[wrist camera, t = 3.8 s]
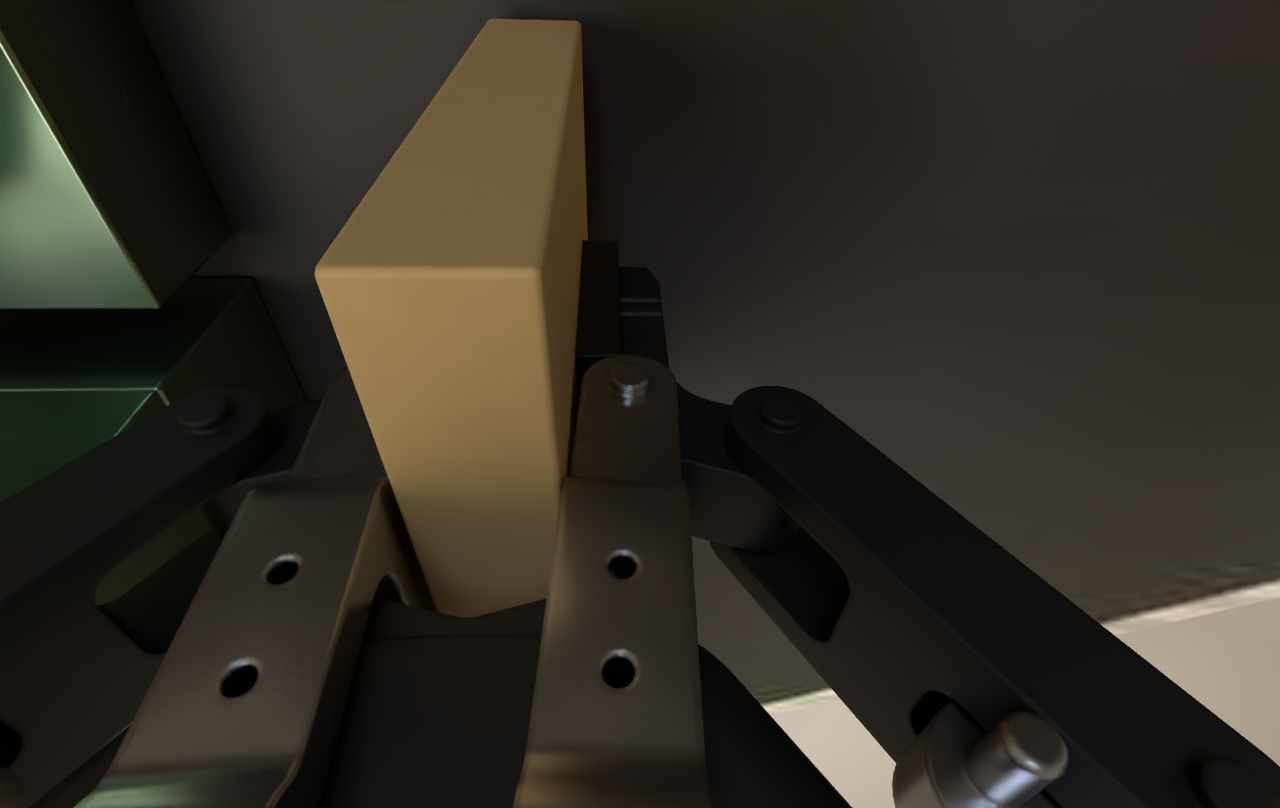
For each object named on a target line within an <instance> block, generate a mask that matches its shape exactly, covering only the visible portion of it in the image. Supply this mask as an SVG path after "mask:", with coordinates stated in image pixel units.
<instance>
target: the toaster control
mask: <svg viewBox="0 0 1280 808" xmlns="http://www.w3.org/2000/svg"><path fill="white" fill-rule="evenodd" d="M230 237H231V231H230V229H229V227H228V225H227V222H226V220H225V218H224V216H223V213H222V211H221V209H220V207H219V204H218V202H217V200H216V198H215V195H214V193H213V191H212V189H211V186H210V184H209V182H208V180H207V177H206V175H205V173H204V171H203V169H202V166H201V164H200V162H199V160H198V157H197V155H196V153H195V151H194V148H193V146H192V144H191V142H190V139H189V137H188V135H187V133H186V130H185V128H184V126H183V124H182V121H181V119H180V117H179V115H178V112H177V110H176V108H175V106H174V103H173V101H172V99H171V97H170V94H169V92H168V90H167V88H166V85H165V83H164V81H163V79H162V77H161V74H160V72H159V70H158V68H157V65H156V63H155V61H154V59H153V56H152V54H151V52H150V50H149V47H148V45H147V43H146V41H145V38H144V36H143V34H142V32H141V29H140V27H139V25H138V23H137V20H136V18H135V16H134V14H133V11H132V9H131V7H130V5H129V2H128V0H0V310H127V309H158V308H161V307H162V306H163V305H164V304H165V303H166V302H167V301H168V300H169V299H170V298H171V297H172V296H173V295H174V294H175V293H176V292H177V291H178V290H179V289H180V288H181V287H182V286H183V285H184V283H185V282H186V281H187V280H188V279H189V278H190V277H191V276H192V275H193V274H194V273H195V272H196V271H197V270H198V269H199V268H200V267H201V266H202V265H203V264H204V263H205V262H206V261H207V260H208V259H209V258H210V257H211V256H212V255H213V254H214V253H215V252H216V251H217V250H218V249H219V248H220V247H221V246H222V245H223V244H224V243H225V242H226V241H227V240H228V239H229V238H230Z"/></svg>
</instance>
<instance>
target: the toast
mask: <svg viewBox="0 0 1280 808" xmlns="http://www.w3.org/2000/svg"><path fill="white" fill-rule="evenodd" d="M583 240H588V233H587V200H586V167H585V134H584V101H583V68H582V35H581V24H580V22H578V21H561V20H521V19H490V20H488V21H487V23H486V24H485V25H484V27H483V28H482V30H481V31H480V33H479V34H478V35H477V37H476V38H475V40H474V41H473V43H472V44H471V45H470V47H469V48H468V50H467V51H466V53H465V54H464V55H463V57H462V58H461V60H460V61H459V63H458V64H457V65H456V67H455V68H454V70H453V71H452V73H451V74H450V75H449V77H448V78H447V80H446V81H445V83H444V84H443V85H442V87H441V88H440V90H439V91H438V93H437V94H436V95H435V97H434V98H433V100H432V101H431V103H430V104H429V105H428V107H427V108H426V110H425V111H424V113H423V114H422V115H421V117H420V118H419V120H418V121H417V123H416V124H415V125H414V127H413V128H412V130H411V131H410V133H409V134H408V135H407V137H406V138H405V140H404V141H403V143H402V144H401V145H400V147H399V148H398V150H397V151H396V153H395V154H394V155H393V157H392V158H391V160H390V161H389V163H388V164H387V165H386V167H385V168H384V170H383V171H382V173H381V174H380V175H379V177H378V178H377V180H376V181H375V183H374V184H373V185H372V187H371V188H370V190H369V191H368V193H367V194H366V195H365V197H364V198H363V200H362V201H361V203H360V204H359V205H358V207H357V208H356V210H355V211H354V213H353V214H352V215H351V217H350V218H349V220H348V221H347V223H346V224H345V225H344V227H343V228H342V230H341V231H340V233H339V234H338V235H337V237H336V238H335V240H334V241H333V243H332V244H331V245H330V247H329V248H328V250H327V251H326V253H325V254H324V255H323V257H322V258H321V260H320V261H319V263H318V264H317V265H316V268H315V278H316V281H317V284H318V286H319V289H320V292H321V295H322V297H323V300H324V303H325V306H326V308H327V311H328V314H329V317H330V319H331V322H332V325H333V328H334V330H335V333H336V336H337V338H338V341H339V344H340V347H341V349H342V352H343V355H344V358H345V360H346V363H347V366H348V369H349V371H350V374H351V377H352V380H353V382H354V385H355V388H356V391H357V393H358V396H359V399H360V401H361V404H362V407H363V410H364V412H365V415H366V418H367V421H368V423H369V426H370V429H371V432H372V434H373V437H374V440H375V443H376V445H377V448H378V451H379V454H380V456H381V459H382V462H383V464H384V467H385V470H386V473H387V475H388V478H389V481H390V484H391V486H392V489H393V492H394V495H395V497H396V500H397V503H398V506H399V508H400V511H401V514H402V517H403V519H404V522H405V525H406V528H407V530H408V533H409V536H410V538H411V541H412V544H413V547H414V549H415V552H416V555H417V558H418V560H419V563H420V566H421V569H422V571H423V574H424V577H425V580H426V582H427V585H428V588H429V591H430V593H431V596H432V599H433V601H434V604H435V607H436V610H437V612H439V613H443V614H448V615H452V616H456V617H462V618H470V617H476V616H480V615H484V614H488V613H492V612H496V611H500V610H504V609H507V608H511V607H515V606H519V605H523V604H527V603H531V602H535V601H539V600H543V599H547V592H548V585H549V578H550V570H551V563H552V555H553V548H554V541H555V533H556V526H557V519H558V511H559V504H560V497H561V490H562V484H563V480H564V477H565V476H570V472H571V464H572V456H573V448H574V440H575V432H576V424H577V416H578V403H577V384H576V365H575V348H576V333H577V318H578V303H579V288H580V272H581V257H582V242H583Z"/></svg>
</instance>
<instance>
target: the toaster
mask: <svg viewBox="0 0 1280 808" xmlns="http://www.w3.org/2000/svg"><path fill="white" fill-rule="evenodd" d="M225 385H236V386H244V387H248V388H251V389H254V390H255V391H257V392H259V393H260V394H261V396H262V397H263V398H264V400H265V402H266V404H267V406H268V408H269V410H275V409H280V408H284V407H289V406H294V405H299V404H303V403H307V402H306V400H305V398H304V395H303V393H302V391H301V389H300V386H299V384H298V382H297V380H296V377H295V375H294V373H293V371H292V368H291V366H290V364H289V362H288V359H287V357H286V355H285V353H284V350H283V348H282V346H281V344H280V341H279V339H278V337H277V335H276V332H275V330H274V328H273V326H272V323H271V321H270V319H269V317H268V315H267V312H266V310H265V308H264V306H263V303H262V301H261V299H260V297H259V294H258V292H257V290H256V288H255V285H254V283H253V281H252V280H251V279H250V278H189V279H188V280H187V281H186V282H185V283H184V285H183V286H182V287H181V288H180V289H179V290H178V291H177V292H176V293H175V294H174V295H173V296H172V297H171V298H170V299H169V300H168V301H167V302H166V303H165V304H164V305H163V306H162V307H161V308H158V309H127V310H0V503H1V502H3V501H4V500H6V499H8V498H10V497H11V496H13V495H15V494H16V493H18V492H20V491H22V490H23V489H25V488H27V487H28V486H30V485H32V484H34V483H35V482H37V481H39V480H40V479H42V478H44V477H46V476H47V475H49V474H51V473H53V472H54V471H56V470H58V469H59V468H61V467H63V466H65V465H66V464H68V463H70V462H71V461H73V460H75V459H77V458H78V457H80V456H82V455H83V454H85V453H87V452H89V451H90V450H92V449H94V448H95V447H97V446H99V445H101V444H102V443H104V442H106V441H108V440H109V439H111V438H113V437H114V436H116V435H118V434H120V433H121V432H123V431H125V430H126V429H128V428H130V427H132V426H133V425H135V424H137V423H138V422H140V421H142V420H144V419H145V418H147V417H149V416H150V415H152V414H154V413H156V412H157V411H159V410H161V409H162V408H164V407H166V406H168V405H169V404H171V403H173V402H175V401H176V400H178V399H180V398H182V397H184V396H186V395H189V394H191V393H194V392H197V391H200V390H203V389H207V388H211V387H217V386H225ZM209 530H210V529H209V528H208V526H207V525H206V524H205V522H204V521H203V519H202V518H201V516H200V515H199V514H198V512H197V511H196V509H195V510H194V511H192V512H191V513H190V514H188V515H187V516H185V517H184V518H183V519H181V520H180V521H179V522H177V523H176V524H174V525H173V526H172V527H170V528H169V529H167V530H166V531H165V532H163V533H162V534H160V535H159V536H158V537H156V538H155V539H153V540H152V541H151V542H149V543H148V544H146V545H145V546H144V547H142V548H141V549H139V550H138V551H137V552H135V553H134V554H132V555H131V556H130V557H128V558H127V559H125V560H124V561H123V562H121V563H120V564H118V565H117V566H116V567H114V568H113V569H112V570H111V571H109V572H108V573H107V574H106V575H105V576H104V578H103V579H102V580H101V582H100V583H99V585H98V587H97V589H96V592H95V597H94V598H95V604H96V605H102V604H105V603H109V602H111V601H113V600H115V599H117V598H119V597H120V596H122V595H123V594H125V593H126V592H127V591H129V590H130V589H131V588H133V587H134V586H135V585H137V584H138V583H139V582H141V581H142V580H143V579H145V578H146V577H147V576H149V575H150V574H151V573H153V572H154V571H155V570H157V569H158V568H159V567H161V566H162V565H163V564H165V563H166V562H167V561H169V560H170V559H171V558H173V557H174V556H175V555H177V554H178V553H179V552H181V551H182V550H183V549H185V548H186V547H187V546H189V545H190V544H191V543H193V542H194V541H195V540H197V539H198V538H199V537H201V536H202V535H203V534H205V533H206V532H207V531H209ZM131 723H132V722H131ZM131 723H130V724H128V725H127V726H126V727H125V728H124V729H123V730H122V731H124V730H125V729H126V728H127V727H129V726H130V725H131ZM122 731H121V732H122ZM121 732H119V733H118V734H117V735H116V736H118V735H119V734H120V733H121ZM116 736H115V737H116ZM115 737H114V738H115ZM114 738H113V739H114ZM113 739H112V740H113ZM110 741H111V740H110ZM110 741H109V742H110ZM109 742H108V743H109ZM108 743H107V744H108Z"/></svg>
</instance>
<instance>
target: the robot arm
mask: <svg viewBox="0 0 1280 808" xmlns="http://www.w3.org/2000/svg"><path fill="white" fill-rule="evenodd" d="M575 365H576V384H577V403H578V416H577V424H576V432H575V440H574V448H573V456H572V464H571V472H570V476H565V477H564V480H563V484H562V490H561V497H560V504H559V511H558V519H557V526H556V533H555V541H554V548H553V555H552V563H551V570H550V578H549V585H548V592H547V599H543V600H539V601H535V602H531V603H527V604H523V605H519V606H515V607H511V608H507V609H504V610H500V611H496V612H492V613H488V614H484V615H480V616H476V617H470V618H462V617H456V616H452V615H448V614H443V613H439V612H437V610H436V607H435V604H434V601H433V599H432V596H431V593H430V591H429V588H428V585H427V582H426V580H425V577H424V574H423V571H422V569H421V566H420V563H419V560H418V558H417V555H416V552H415V549H414V547H413V544H412V541H411V538H410V536H409V533H408V530H407V528H406V525H405V522H404V519H403V517H402V514H401V511H400V508H399V506H398V503H397V500H396V497H395V495H394V492H393V489H392V486H391V484H390V481H389V478H388V475H387V473H386V470H385V467H384V464H383V462H382V459H381V456H380V454H379V451H378V448H377V445H376V443H375V440H374V437H373V434H372V432H371V429H370V426H369V423H368V421H367V418H366V415H365V412H364V410H363V407H362V404H361V401H360V399H359V396H358V393H357V391H356V388H355V385H354V382H353V380H352V377H351V374H350V371H349V369H348V367H346V368H345V369H343V370H342V371H341V372H340V373H338V374H337V375H336V376H335V378H334V379H333V380H332V382H331V383H330V385H329V387H328V389H327V392H326V394H325V396H324V398H323V399H320V400H316V401H312V402H308V403H303V404H299V405H294V406H289V407H284V408H280V409H275V410H269V408H268V406H267V404H266V402H265V400H264V398H263V397H262V396H261V394H260V393H259V392H257V391H255V390H254V389H251V388H248V387H244V386H236V385H225V386H217V387H211V388H207V389H203V390H200V391H197V392H194V393H191V394H189V395H186V396H184V397H182V398H180V399H178V400H176V401H175V402H173V403H171V404H169V405H168V406H166V407H164V408H162V409H161V410H159V411H157V412H156V413H154V414H152V415H150V416H149V417H147V418H145V419H144V420H142V421H140V422H138V423H137V424H135V425H133V426H132V427H130V428H128V429H126V430H125V431H123V432H121V433H120V434H118V435H116V436H114V437H113V438H111V439H109V440H108V441H106V442H104V443H102V444H101V445H99V446H97V447H95V448H94V449H92V450H90V451H89V452H87V453H85V454H83V455H82V456H80V457H78V458H77V459H75V460H73V461H71V462H70V463H68V464H66V465H65V466H63V467H61V468H59V469H58V470H56V471H54V472H53V473H51V474H49V475H47V476H46V477H44V478H42V479H40V480H39V481H37V482H35V483H34V484H32V485H30V486H28V487H27V488H25V489H23V490H22V491H20V492H18V493H16V494H15V495H13V496H11V497H10V498H8V499H6V500H4V501H3V502H1V503H0V808H852V807H851V806H850V805H849V804H848V803H847V801H846V800H845V799H844V798H843V797H842V796H841V795H840V794H839V792H838V791H837V790H836V789H835V788H834V787H833V786H832V785H831V784H830V782H829V781H828V780H827V779H826V778H825V777H824V776H823V774H822V773H821V772H820V771H819V770H818V769H817V768H816V767H815V766H814V764H813V763H812V762H811V761H810V760H809V759H808V758H807V757H806V755H805V754H804V753H803V752H802V751H801V750H800V749H799V747H798V746H797V745H796V744H795V743H794V742H793V741H792V740H791V738H790V737H789V736H788V735H787V734H786V733H785V732H784V731H783V729H782V728H781V727H780V726H779V725H778V724H777V723H776V722H775V721H774V719H773V718H772V717H771V716H770V715H769V714H768V713H767V711H766V710H765V709H764V708H763V707H762V706H761V705H760V704H759V702H758V701H757V700H756V699H755V698H754V697H753V696H752V695H751V693H750V692H749V691H748V690H747V689H746V688H745V687H744V686H743V684H742V683H741V682H740V681H739V680H738V679H737V678H736V677H735V675H734V674H733V673H732V672H731V671H730V670H729V669H728V668H727V667H726V666H725V665H724V664H723V663H722V662H721V661H719V660H718V659H717V658H716V657H715V656H714V655H712V654H711V653H710V652H709V651H708V650H706V649H705V648H703V647H702V646H700V645H699V644H698V635H697V619H696V603H695V587H694V571H693V555H692V539H691V536H694V537H698V538H701V539H705V540H709V541H710V544H711V547H712V549H713V551H714V552H715V554H716V555H717V557H718V558H719V559H720V560H721V561H722V562H723V564H724V565H725V566H726V567H727V568H728V569H729V571H730V572H731V573H732V574H733V575H734V576H735V577H736V579H737V580H738V581H739V582H740V583H741V584H742V586H743V587H744V588H745V589H746V590H747V591H748V593H749V594H750V595H751V596H752V597H753V598H754V599H755V601H756V602H757V603H758V604H759V605H760V606H761V608H762V609H763V610H764V611H765V612H766V613H767V614H768V616H769V617H770V618H771V619H772V620H773V621H774V623H775V624H776V625H777V626H778V627H779V628H780V629H781V631H782V632H783V633H784V634H785V635H786V636H787V638H788V639H789V640H790V641H791V642H792V643H793V645H794V646H795V647H796V648H797V649H798V650H799V651H800V653H801V654H802V655H803V656H804V657H805V658H806V660H807V661H808V662H809V663H810V664H811V665H812V666H813V668H814V669H815V670H816V671H817V672H818V673H819V675H820V676H821V677H822V678H823V679H824V680H825V682H826V683H827V684H828V685H829V686H830V687H831V688H832V690H833V691H834V692H835V693H836V694H837V695H838V697H839V698H840V699H841V700H842V701H843V702H844V703H845V705H846V706H847V707H848V708H849V709H850V710H851V711H852V713H853V714H854V715H855V716H856V717H857V719H858V720H859V721H860V722H861V723H862V724H863V725H864V727H865V728H866V729H867V730H868V731H869V732H870V734H871V735H872V736H873V737H874V738H875V739H876V740H877V742H878V743H879V744H880V745H881V746H882V747H883V749H884V750H885V751H886V752H887V753H888V754H889V755H890V757H891V758H892V759H893V760H894V761H895V762H896V766H895V770H894V773H893V783H892V787H893V798H894V803H895V808H1280V767H1279V766H1278V765H1277V764H1276V763H1275V762H1274V761H1273V760H1271V759H1270V758H1269V757H1268V756H1267V755H1266V754H1264V753H1263V752H1262V751H1261V750H1259V749H1258V748H1257V747H1256V746H1254V745H1253V744H1252V743H1251V742H1249V741H1248V740H1247V739H1245V738H1244V737H1243V736H1241V735H1240V734H1239V733H1238V732H1237V731H1235V730H1234V729H1233V728H1231V727H1230V726H1229V725H1228V724H1226V723H1225V722H1224V721H1222V720H1221V719H1220V718H1218V717H1217V716H1216V715H1215V714H1214V713H1212V712H1211V711H1210V710H1209V709H1207V708H1206V707H1205V706H1203V705H1202V704H1201V703H1200V702H1198V701H1197V700H1195V698H1193V697H1192V696H1191V695H1189V694H1188V693H1187V692H1186V691H1184V690H1183V689H1182V688H1181V687H1179V686H1178V685H1177V684H1175V683H1174V682H1173V681H1172V680H1170V679H1169V678H1168V677H1167V676H1165V675H1164V674H1163V673H1161V672H1160V671H1159V670H1158V669H1156V668H1155V667H1154V666H1153V665H1151V664H1150V663H1149V662H1147V661H1146V660H1145V659H1144V658H1142V657H1141V656H1140V655H1139V654H1137V653H1136V652H1135V651H1133V650H1132V649H1131V648H1130V647H1128V646H1127V645H1126V644H1125V643H1123V642H1122V641H1121V640H1120V639H1118V638H1117V637H1116V636H1114V635H1113V634H1112V633H1111V632H1109V631H1108V630H1107V629H1106V628H1104V627H1103V626H1102V625H1100V624H1099V623H1098V622H1097V621H1095V620H1094V619H1093V618H1092V617H1090V616H1089V615H1088V614H1086V613H1085V612H1084V611H1083V610H1081V609H1080V608H1079V607H1078V606H1076V605H1075V604H1074V603H1072V602H1071V601H1070V600H1069V599H1067V598H1066V597H1065V596H1064V595H1062V594H1061V593H1060V592H1058V591H1057V590H1056V589H1055V588H1053V587H1052V586H1051V585H1050V584H1048V583H1047V582H1046V581H1044V580H1043V579H1042V578H1041V577H1039V576H1038V575H1037V574H1036V573H1034V572H1033V571H1032V570H1030V569H1029V568H1028V567H1027V566H1025V565H1024V564H1023V563H1022V562H1020V561H1019V560H1018V559H1016V558H1015V557H1014V556H1013V555H1011V554H1010V553H1009V552H1008V551H1006V550H1005V549H1004V548H1002V547H1001V546H1000V545H999V544H997V543H996V542H995V541H994V540H992V539H991V538H990V537H988V536H987V535H986V534H985V533H983V532H982V531H981V530H980V529H978V528H977V527H976V526H974V525H973V524H972V523H971V522H969V521H968V520H967V519H966V518H964V517H963V516H962V515H960V514H959V513H958V512H957V511H955V510H954V509H953V508H952V507H950V506H949V505H948V504H947V503H945V502H944V501H943V500H941V499H940V498H939V497H938V496H936V495H935V494H934V493H933V492H931V491H930V490H929V489H927V488H926V487H925V486H924V485H922V484H921V483H920V482H919V481H917V480H916V479H915V478H913V477H912V476H911V475H910V474H908V473H907V472H906V471H905V470H903V469H902V468H901V467H899V466H898V465H897V464H896V463H894V462H893V461H892V460H891V459H889V458H888V457H887V456H885V455H884V454H883V453H882V452H880V451H879V450H878V449H877V448H875V447H874V446H873V445H871V444H870V443H869V442H868V441H866V440H865V439H864V438H863V437H861V436H860V435H859V434H857V433H856V432H855V431H854V430H852V429H851V428H850V427H849V426H847V425H846V424H845V423H843V422H842V421H841V420H840V419H838V418H837V417H836V416H835V415H833V414H832V413H831V412H829V411H828V410H827V409H826V408H824V407H823V406H822V405H821V404H819V403H818V402H817V401H815V400H814V399H812V398H811V397H810V396H808V395H806V394H804V393H802V392H799V391H796V390H794V389H790V388H786V387H780V386H761V387H756V388H753V389H750V390H747V391H745V392H743V393H742V394H740V395H739V396H738V397H737V398H736V399H735V400H734V402H733V403H732V405H727V404H723V403H719V402H714V401H710V400H707V399H703V398H701V397H698V396H696V395H694V394H692V393H690V392H688V391H687V390H685V389H684V388H682V387H681V386H680V385H679V384H678V383H677V382H676V379H675V376H674V374H673V373H672V372H671V371H670V369H669V364H668V355H667V346H666V338H665V329H664V320H663V312H662V303H661V295H660V286H659V282H658V280H657V279H656V278H655V277H654V276H653V275H652V274H651V272H650V271H649V270H648V269H647V268H646V267H619V266H618V241H613V240H583V242H582V257H581V272H580V288H579V303H578V318H577V333H576V348H575ZM195 509H196V511H197V512H198V514H199V515H200V516H201V518H202V519H203V521H204V522H205V524H206V525H207V526H208V528H209V529H210V530H209V531H207V532H206V533H205V534H203V535H202V536H201V537H199V538H198V539H197V540H195V541H194V542H193V543H191V544H190V545H189V546H187V547H186V548H185V549H183V550H182V551H181V552H179V553H178V554H177V555H175V556H174V557H173V558H171V559H170V560H169V561H167V562H166V563H165V564H163V565H162V566H161V567H159V568H158V569H157V570H155V571H154V572H153V573H151V574H150V575H149V576H147V577H146V578H145V579H143V580H142V581H141V582H139V583H138V584H137V585H135V586H134V587H133V588H131V589H130V590H129V591H127V592H126V593H125V594H123V595H122V596H120V597H119V598H117V599H115V600H113V601H111V602H109V603H105V604H102V605H96V604H95V598H94V597H95V592H96V589H97V587H98V585H99V583H100V582H101V580H102V579H103V578H104V576H105V575H106V574H107V573H108V572H109V571H111V570H112V569H113V568H114V567H116V566H117V565H118V564H120V563H121V562H123V561H124V560H125V559H127V558H128V557H130V556H131V555H132V554H134V553H135V552H137V551H138V550H139V549H141V548H142V547H144V546H145V545H146V544H148V543H149V542H151V541H152V540H153V539H155V538H156V537H158V536H159V535H160V534H162V533H163V532H165V531H166V530H167V529H169V528H170V527H172V526H173V525H174V524H176V523H177V522H179V521H180V520H181V519H183V518H184V517H185V516H187V515H188V514H190V513H191V512H192V511H194V510H195ZM131 722H132V723H131ZM130 723H131V725H130V726H129V727H127V728H126V729H125V730H124V731H122V730H123V729H124V728H125V727H126V726H127V725H128V724H130ZM121 731H122V732H121ZM119 732H121V733H120V734H119V735H118V736H116V735H117V734H118V733H119ZM115 736H116V737H115ZM114 737H115V738H114ZM113 738H114V739H113ZM112 739H113V740H112ZM110 740H111V741H110ZM109 741H110V742H109ZM108 742H109V743H108ZM107 743H108V744H107Z"/></svg>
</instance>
